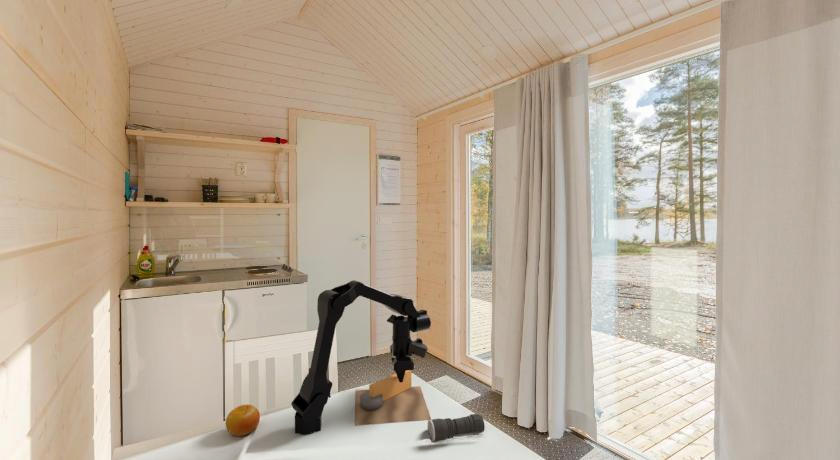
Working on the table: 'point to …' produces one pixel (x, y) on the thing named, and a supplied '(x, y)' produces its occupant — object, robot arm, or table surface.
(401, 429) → the table surface
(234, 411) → the fruit
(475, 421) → the flashlight
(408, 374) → the orange and grey block
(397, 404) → the board
